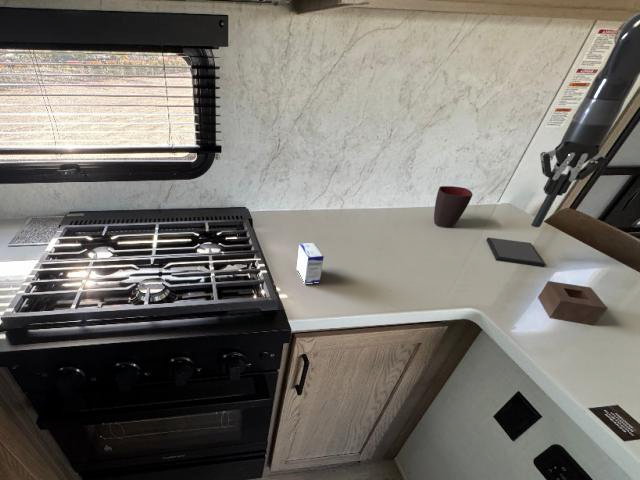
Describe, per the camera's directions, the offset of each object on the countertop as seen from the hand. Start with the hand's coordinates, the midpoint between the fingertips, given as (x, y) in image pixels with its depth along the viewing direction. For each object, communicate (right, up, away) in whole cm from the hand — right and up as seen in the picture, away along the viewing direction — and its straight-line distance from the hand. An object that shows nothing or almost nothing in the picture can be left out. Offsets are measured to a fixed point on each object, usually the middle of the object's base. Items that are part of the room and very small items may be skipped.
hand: (552, 193), depth 90 cm
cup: (-9, 0, +34) cm, 35 cm away
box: (-63, -22, +5) cm, 67 cm away
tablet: (+2, -13, +15) cm, 20 cm away
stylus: (0, -7, +5) cm, 9 cm away
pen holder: (-4, -31, -8) cm, 32 cm away
